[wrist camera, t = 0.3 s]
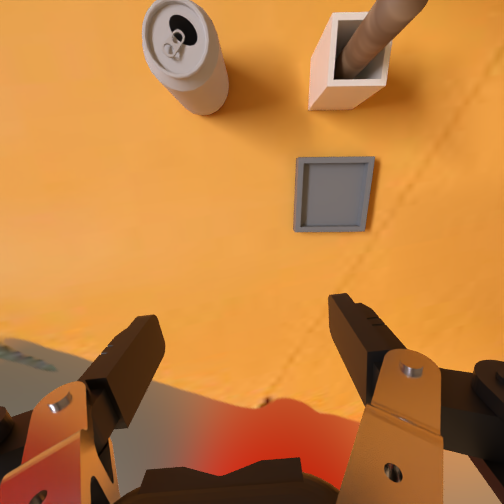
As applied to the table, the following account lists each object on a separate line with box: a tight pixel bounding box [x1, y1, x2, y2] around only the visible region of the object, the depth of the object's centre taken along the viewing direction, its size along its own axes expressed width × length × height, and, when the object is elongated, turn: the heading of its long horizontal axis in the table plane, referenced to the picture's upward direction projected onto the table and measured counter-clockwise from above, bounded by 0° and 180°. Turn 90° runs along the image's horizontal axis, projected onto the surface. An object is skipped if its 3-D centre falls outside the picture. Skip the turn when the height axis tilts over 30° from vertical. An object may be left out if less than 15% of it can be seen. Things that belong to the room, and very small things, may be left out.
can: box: [142, 0, 229, 115], centre depth 27 cm, size 8×8×12 cm
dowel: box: [333, 0, 428, 80], centre depth 24 cm, size 3×3×16 cm
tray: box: [293, 157, 375, 232], centre depth 36 cm, size 11×11×2 cm
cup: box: [308, 12, 392, 110], centre depth 28 cm, size 6×6×9 cm
